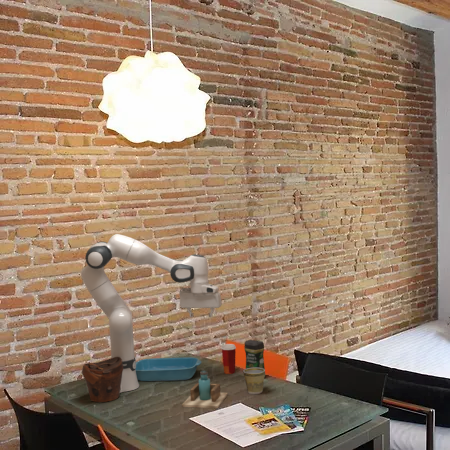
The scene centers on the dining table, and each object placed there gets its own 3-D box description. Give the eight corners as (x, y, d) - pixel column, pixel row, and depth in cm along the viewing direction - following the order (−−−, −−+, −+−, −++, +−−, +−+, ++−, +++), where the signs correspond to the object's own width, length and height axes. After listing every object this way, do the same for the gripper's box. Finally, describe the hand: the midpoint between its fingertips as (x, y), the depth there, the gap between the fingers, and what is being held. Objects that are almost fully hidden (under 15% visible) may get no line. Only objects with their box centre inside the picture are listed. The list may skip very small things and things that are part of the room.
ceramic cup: (257, 396, 275) (256, 374, 274) (239, 393, 281) (238, 371, 280) (273, 388, 285) (272, 367, 285) (255, 385, 291) (254, 364, 291)
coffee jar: (242, 378, 304) (241, 341, 303) (252, 374, 310) (250, 337, 310) (259, 381, 298) (257, 343, 297) (268, 376, 304) (266, 339, 304)
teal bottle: (198, 400, 271) (196, 373, 270) (201, 396, 276) (200, 369, 275) (208, 400, 270) (207, 373, 269) (212, 396, 274) (210, 370, 274)
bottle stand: (181, 406, 266) (181, 393, 266) (194, 393, 283) (193, 380, 283) (217, 408, 262) (216, 394, 262) (227, 394, 279) (227, 381, 279)
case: (74, 402, 278) (72, 363, 277) (102, 389, 296) (101, 352, 295) (105, 407, 270) (103, 367, 269) (132, 394, 287) (131, 356, 287)
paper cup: (237, 370, 319) (236, 343, 318) (236, 374, 311) (235, 347, 310) (222, 370, 319) (221, 343, 319) (221, 374, 312) (219, 347, 311)
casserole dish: (125, 383, 305) (124, 369, 304) (135, 371, 327) (135, 357, 326) (199, 382, 301) (198, 368, 301) (204, 369, 323) (204, 356, 323)
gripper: (177, 289, 293) (178, 318, 294) (218, 289, 288) (219, 318, 289) (181, 287, 299) (182, 315, 300) (221, 287, 294) (223, 315, 295)
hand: (201, 316), depth 294 cm, fingers open, 8 cm apart
